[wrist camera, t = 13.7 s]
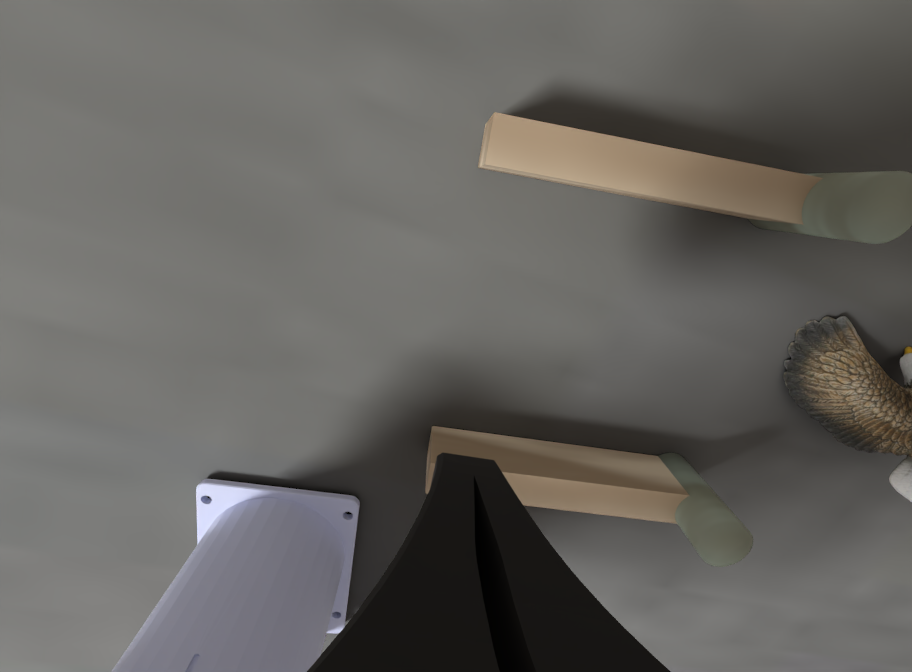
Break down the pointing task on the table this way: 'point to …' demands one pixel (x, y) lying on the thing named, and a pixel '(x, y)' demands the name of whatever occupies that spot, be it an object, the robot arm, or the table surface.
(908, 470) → the eagle figurine
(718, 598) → the table surface
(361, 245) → the table surface
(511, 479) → the wooden matchsticks
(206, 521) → the robot arm
